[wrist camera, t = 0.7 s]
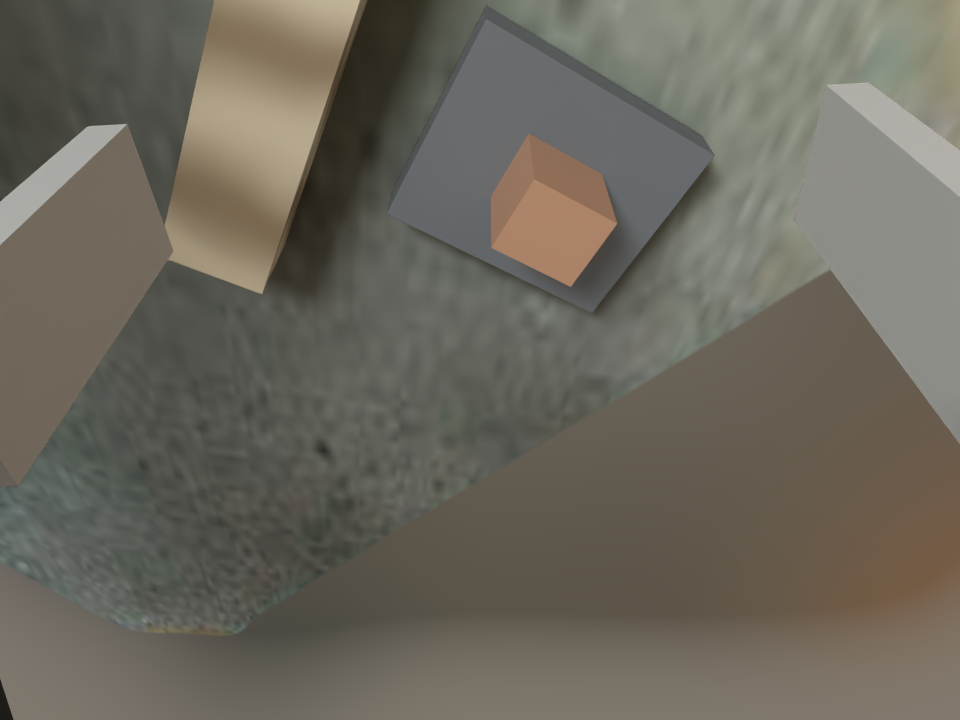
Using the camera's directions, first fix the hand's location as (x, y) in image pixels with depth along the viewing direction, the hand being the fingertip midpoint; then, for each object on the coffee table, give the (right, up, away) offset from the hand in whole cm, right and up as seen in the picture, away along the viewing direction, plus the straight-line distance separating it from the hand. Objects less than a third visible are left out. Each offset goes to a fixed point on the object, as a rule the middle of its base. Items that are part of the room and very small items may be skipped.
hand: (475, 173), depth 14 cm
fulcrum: (+3, +6, +22) cm, 23 cm away
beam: (-8, +11, +18) cm, 23 cm away
